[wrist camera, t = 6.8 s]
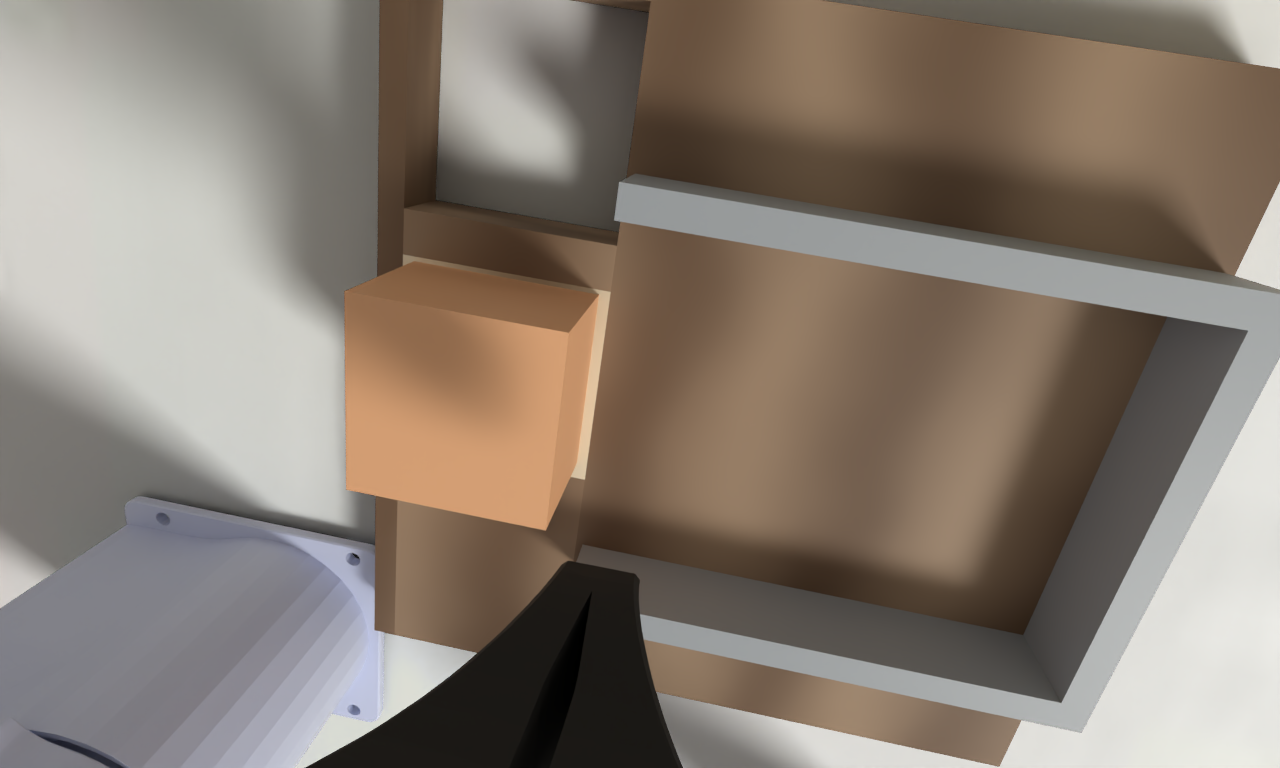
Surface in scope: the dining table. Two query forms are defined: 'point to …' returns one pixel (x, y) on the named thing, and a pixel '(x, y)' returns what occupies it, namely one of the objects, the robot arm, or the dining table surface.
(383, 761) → the robot arm
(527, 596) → the board
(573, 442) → the block
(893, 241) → the gray rectangular frame
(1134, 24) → the dining table surface
